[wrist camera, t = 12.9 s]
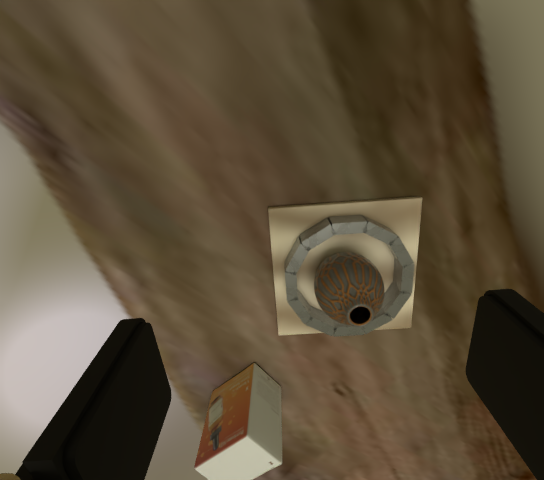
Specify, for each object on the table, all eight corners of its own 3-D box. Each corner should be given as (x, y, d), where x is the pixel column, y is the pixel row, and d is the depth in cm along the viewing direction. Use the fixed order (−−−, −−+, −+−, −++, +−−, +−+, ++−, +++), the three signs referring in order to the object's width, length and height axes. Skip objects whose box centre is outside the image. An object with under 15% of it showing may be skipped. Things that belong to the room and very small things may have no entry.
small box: (254, 360, 42) (248, 434, 32) (282, 386, 43) (284, 464, 34) (210, 391, 44) (191, 469, 34) (238, 414, 45) (228, 496, 35)
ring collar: (281, 219, 34) (281, 227, 32) (408, 210, 34) (418, 217, 32) (288, 325, 39) (289, 338, 37) (400, 319, 39) (408, 332, 36)
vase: (385, 270, 36) (416, 314, 28) (340, 308, 38) (357, 361, 30) (342, 230, 35) (363, 265, 27) (298, 273, 37) (304, 317, 28)
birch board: (268, 207, 35) (268, 209, 34) (419, 196, 34) (422, 197, 33) (278, 331, 40) (278, 335, 40) (408, 323, 40) (410, 327, 39)
